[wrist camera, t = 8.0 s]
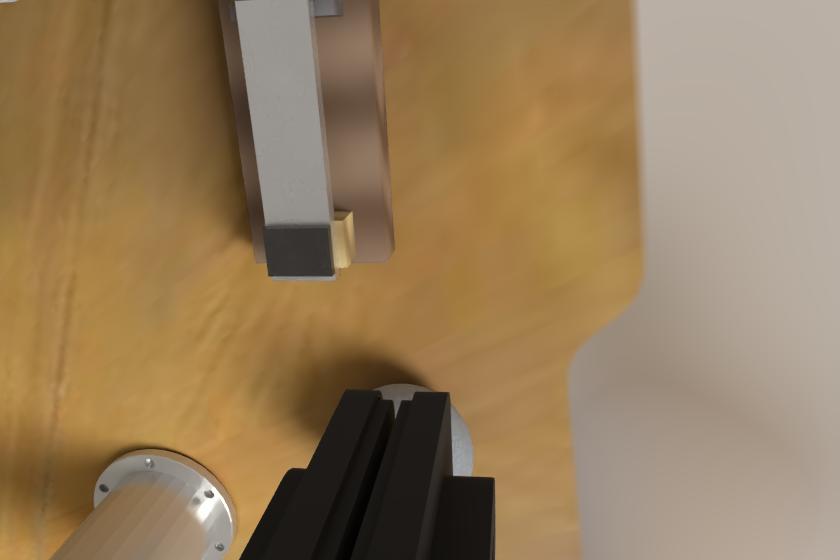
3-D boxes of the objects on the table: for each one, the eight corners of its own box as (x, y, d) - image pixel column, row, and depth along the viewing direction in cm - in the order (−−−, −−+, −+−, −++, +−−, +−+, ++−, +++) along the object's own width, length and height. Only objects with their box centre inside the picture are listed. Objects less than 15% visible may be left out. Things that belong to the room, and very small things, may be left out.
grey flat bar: (345, 273, 40) (338, 284, 38) (275, 273, 41) (265, 284, 39) (316, -32, 34) (306, -36, 32) (235, -26, 35) (220, -29, 33)
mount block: (394, 249, 44) (379, 275, 39) (271, 250, 46) (241, 275, 41) (374, -56, 38) (353, -72, 33) (232, -45, 39) (190, -58, 34)
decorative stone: (364, 476, 51) (330, 571, 42) (335, 366, 48) (292, 442, 39) (487, 466, 49) (480, 564, 40) (465, 351, 46) (452, 428, 37)
